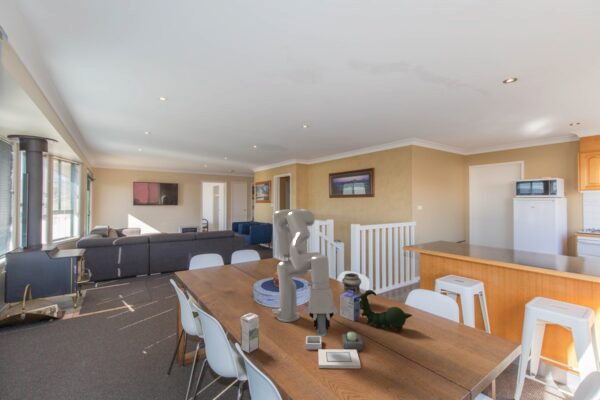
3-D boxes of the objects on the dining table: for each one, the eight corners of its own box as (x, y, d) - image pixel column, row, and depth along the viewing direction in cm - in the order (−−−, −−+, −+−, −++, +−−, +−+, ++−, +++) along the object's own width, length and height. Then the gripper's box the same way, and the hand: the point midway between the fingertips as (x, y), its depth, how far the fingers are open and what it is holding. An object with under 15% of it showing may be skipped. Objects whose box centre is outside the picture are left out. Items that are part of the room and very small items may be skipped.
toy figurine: (360, 329, 138) (412, 337, 125) (356, 291, 139) (407, 295, 126) (366, 322, 146) (415, 328, 133) (362, 286, 147) (411, 289, 134)
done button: (348, 344, 118) (347, 336, 118) (346, 339, 122) (346, 331, 122) (357, 344, 118) (357, 336, 118) (355, 339, 122) (355, 331, 122)
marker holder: (305, 349, 118) (305, 343, 118) (306, 341, 124) (306, 335, 124) (321, 349, 117) (321, 343, 117) (321, 341, 124) (321, 335, 124)
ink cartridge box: (360, 318, 147) (359, 292, 147) (354, 321, 143) (353, 294, 143) (346, 313, 154) (345, 287, 154) (339, 316, 151) (339, 290, 151)
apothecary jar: (340, 306, 165) (339, 276, 165) (344, 299, 176) (344, 271, 177) (360, 308, 161) (359, 278, 161) (363, 301, 172) (362, 273, 172)
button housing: (344, 350, 116) (343, 343, 116) (342, 340, 124) (341, 334, 124) (362, 350, 116) (362, 343, 116) (359, 340, 124) (359, 334, 124)
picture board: (318, 368, 104) (318, 364, 104) (318, 352, 115) (318, 349, 115) (360, 368, 103) (360, 364, 103) (356, 352, 114) (356, 349, 114)
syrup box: (250, 343, 123) (249, 312, 123) (259, 348, 120) (258, 315, 120) (240, 349, 119) (239, 316, 119) (249, 353, 115) (248, 319, 115)
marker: (317, 337, 113) (316, 311, 113) (317, 332, 117) (316, 308, 117) (327, 337, 112) (326, 311, 113) (326, 332, 117) (325, 308, 117)
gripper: (300, 287, 112) (301, 332, 111) (340, 287, 111) (342, 332, 111) (301, 282, 119) (302, 324, 119) (339, 282, 119) (340, 324, 118)
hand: (321, 328), depth 115 cm, fingers closed on marker, 4 cm apart
